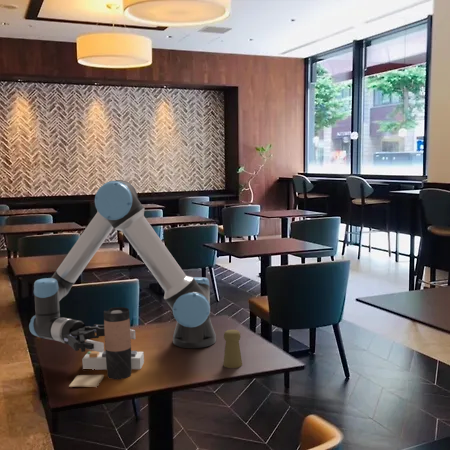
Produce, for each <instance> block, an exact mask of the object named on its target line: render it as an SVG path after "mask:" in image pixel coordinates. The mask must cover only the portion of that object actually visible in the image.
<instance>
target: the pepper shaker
mask: <svg viewBox="0 0 450 450" xmlns="http://www.w3.org/2000/svg"><path fill="white" fill-rule="evenodd" d="M223 338H224V341H225V345H224V353H223V355H224V356H223V362H222V363H223V364H222V365H223V367H224V368H228V369H237V368H240V367H242V366H243V360H242V359H243V358H242V353H241V345H240V342H239V341H240V340H241V333H240V331H239V330H237V329H228V330H225V331H224V333H223Z"/></svg>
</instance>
